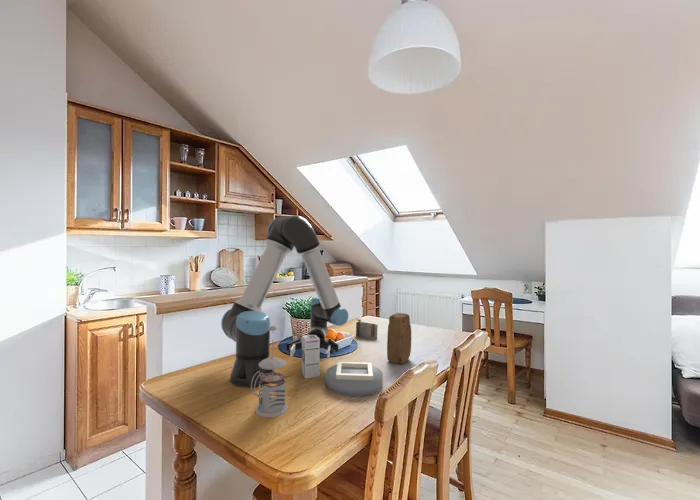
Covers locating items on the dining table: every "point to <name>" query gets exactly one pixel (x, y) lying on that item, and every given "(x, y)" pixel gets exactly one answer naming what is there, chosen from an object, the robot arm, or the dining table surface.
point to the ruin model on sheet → (366, 329)
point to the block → (399, 338)
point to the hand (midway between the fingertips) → (309, 354)
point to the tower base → (354, 379)
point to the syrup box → (310, 356)
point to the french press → (271, 388)
